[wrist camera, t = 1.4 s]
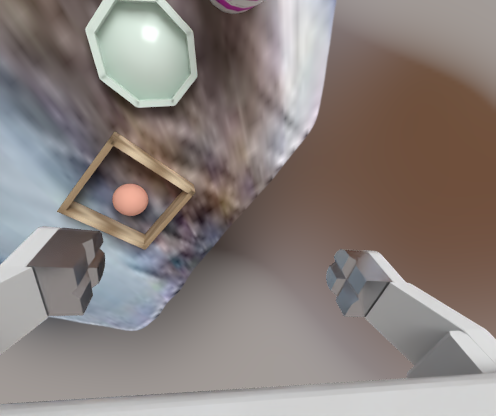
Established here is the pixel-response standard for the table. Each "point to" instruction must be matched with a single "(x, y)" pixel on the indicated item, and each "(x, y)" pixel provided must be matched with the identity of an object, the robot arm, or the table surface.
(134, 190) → the ball
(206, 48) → the table surface
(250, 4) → the soda can
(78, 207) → the wooden square frame
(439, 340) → the robot arm
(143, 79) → the saucer
